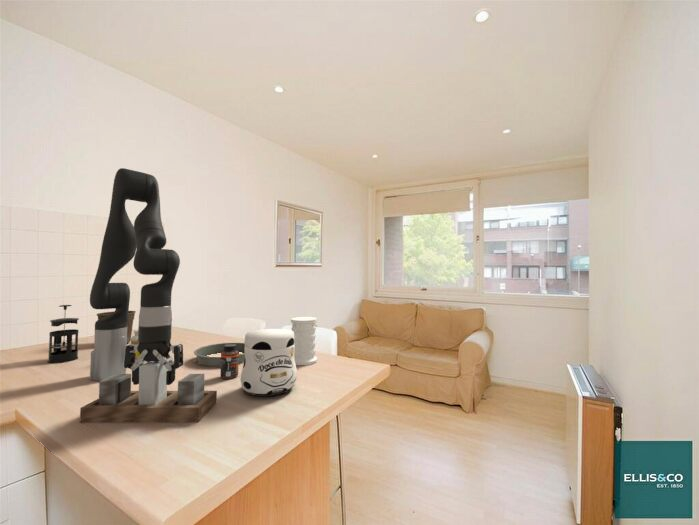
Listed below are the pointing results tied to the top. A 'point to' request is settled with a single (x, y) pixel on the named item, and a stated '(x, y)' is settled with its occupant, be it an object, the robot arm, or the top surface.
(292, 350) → the milk container
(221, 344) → the cake pan
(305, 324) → the decorative container
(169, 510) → the top surface
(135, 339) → the supplement bottle
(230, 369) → the supplement bottle
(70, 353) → the french press
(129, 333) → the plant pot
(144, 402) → the skincare box
